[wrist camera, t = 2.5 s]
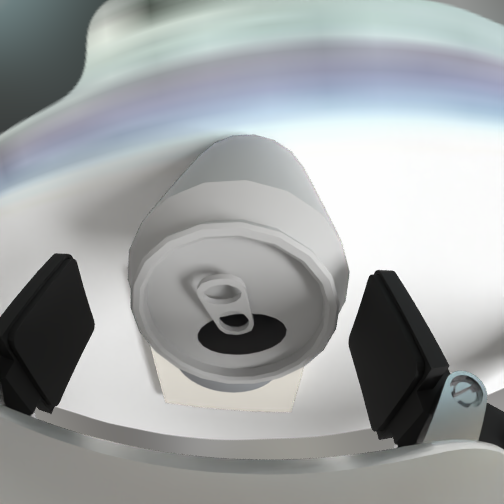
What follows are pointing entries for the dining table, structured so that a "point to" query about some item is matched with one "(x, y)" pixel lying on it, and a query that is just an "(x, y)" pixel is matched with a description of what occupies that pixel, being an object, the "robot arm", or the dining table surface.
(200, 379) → the tile
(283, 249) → the can
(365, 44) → the dining table surface
